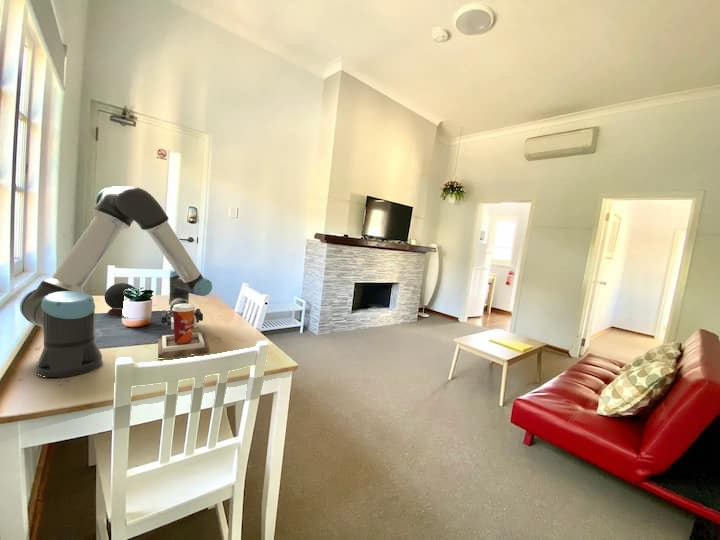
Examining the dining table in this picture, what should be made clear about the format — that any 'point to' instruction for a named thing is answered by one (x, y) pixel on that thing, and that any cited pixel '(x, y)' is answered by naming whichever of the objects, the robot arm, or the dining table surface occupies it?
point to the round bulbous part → (116, 298)
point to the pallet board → (182, 346)
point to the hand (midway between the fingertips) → (184, 324)
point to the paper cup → (183, 322)
